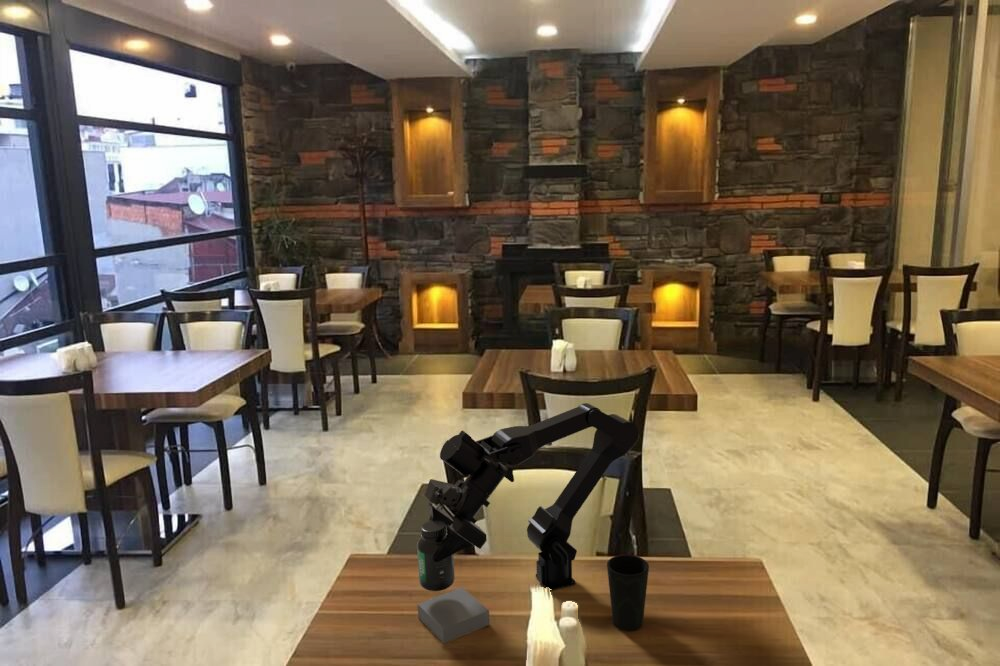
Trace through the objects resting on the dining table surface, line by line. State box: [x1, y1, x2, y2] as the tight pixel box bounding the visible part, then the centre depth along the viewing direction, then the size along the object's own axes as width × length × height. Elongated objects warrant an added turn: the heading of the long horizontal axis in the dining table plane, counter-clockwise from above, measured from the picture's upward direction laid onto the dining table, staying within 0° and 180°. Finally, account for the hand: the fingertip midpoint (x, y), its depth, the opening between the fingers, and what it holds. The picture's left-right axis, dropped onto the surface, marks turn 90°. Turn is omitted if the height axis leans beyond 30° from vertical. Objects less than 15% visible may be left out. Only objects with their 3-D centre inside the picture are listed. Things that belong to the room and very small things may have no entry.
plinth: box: [417, 587, 491, 645], centre depth 143 cm, size 10×10×3 cm
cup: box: [606, 554, 650, 632], centre depth 139 cm, size 8×8×12 cm
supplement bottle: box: [416, 520, 456, 592], centre depth 143 cm, size 7×7×12 cm
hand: (428, 552), depth 143 cm, fingers closed on supplement bottle, 7 cm apart
